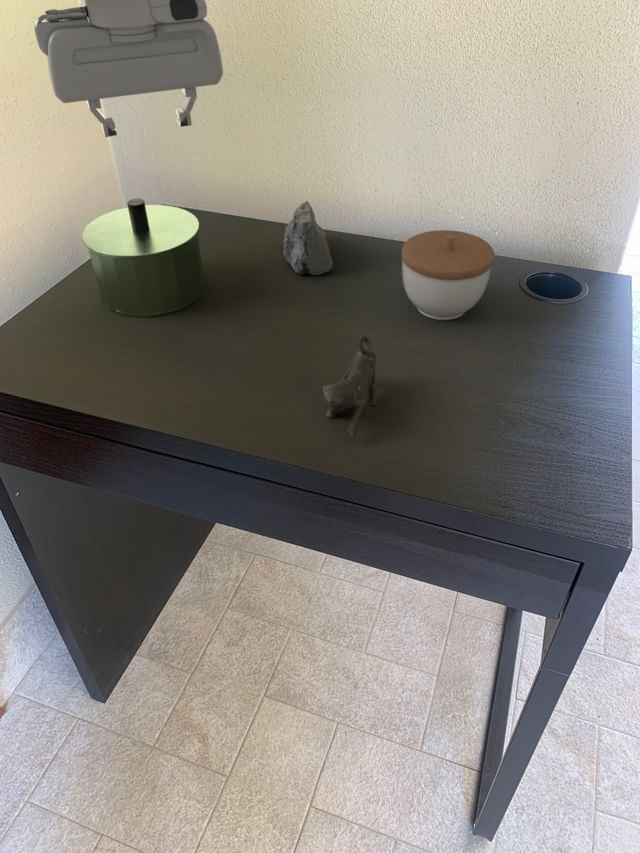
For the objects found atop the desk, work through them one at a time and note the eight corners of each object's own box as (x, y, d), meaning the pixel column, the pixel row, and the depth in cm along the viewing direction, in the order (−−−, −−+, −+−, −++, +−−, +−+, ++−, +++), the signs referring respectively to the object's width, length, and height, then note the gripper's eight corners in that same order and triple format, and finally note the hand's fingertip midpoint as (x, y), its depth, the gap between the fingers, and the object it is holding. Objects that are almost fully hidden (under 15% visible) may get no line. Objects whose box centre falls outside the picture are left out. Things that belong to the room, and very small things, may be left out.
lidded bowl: (382, 313, 99) (386, 243, 92) (423, 277, 107) (429, 209, 100) (462, 340, 94) (472, 267, 86) (498, 300, 101) (511, 230, 94)
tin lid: (92, 272, 91) (83, 237, 88) (76, 223, 103) (67, 190, 99) (213, 249, 96) (208, 214, 92) (184, 204, 107) (179, 172, 104)
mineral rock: (295, 236, 118) (292, 178, 112) (353, 245, 115) (354, 187, 109) (263, 270, 109) (259, 209, 103) (326, 281, 106) (326, 220, 100)
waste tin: (110, 327, 97) (95, 266, 91) (94, 276, 108) (79, 219, 102) (216, 304, 102) (208, 244, 95) (190, 257, 113) (181, 202, 106)
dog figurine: (343, 376, 88) (343, 327, 83) (386, 385, 86) (389, 336, 81) (308, 434, 80) (307, 384, 75) (355, 446, 78) (357, 395, 73)
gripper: (31, 17, 72) (66, 150, 81) (219, 0, 77) (231, 126, 87) (27, 6, 77) (60, 133, 86) (205, -9, 82) (218, 112, 91)
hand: (148, 130), depth 86 cm, fingers open, 8 cm apart
